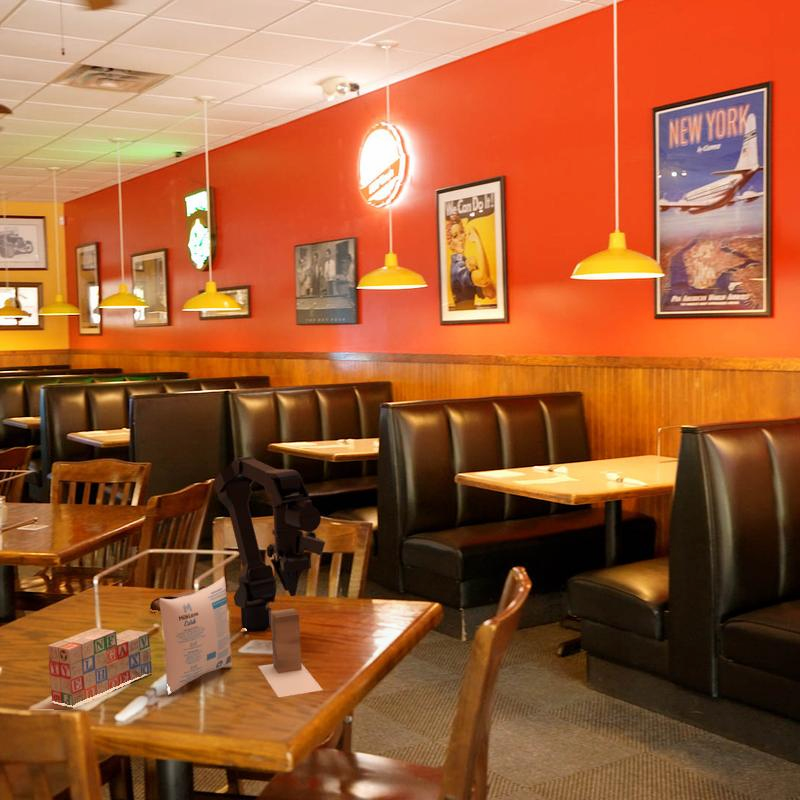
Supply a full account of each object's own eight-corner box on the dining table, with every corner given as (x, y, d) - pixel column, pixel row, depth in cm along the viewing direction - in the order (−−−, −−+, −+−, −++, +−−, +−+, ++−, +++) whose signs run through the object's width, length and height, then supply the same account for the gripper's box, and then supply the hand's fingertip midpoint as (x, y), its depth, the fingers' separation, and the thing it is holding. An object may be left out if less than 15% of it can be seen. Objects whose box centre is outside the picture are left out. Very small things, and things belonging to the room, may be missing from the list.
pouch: (246, 670, 214) (241, 578, 212) (177, 699, 198) (171, 600, 197) (219, 664, 218) (214, 574, 217) (151, 692, 203) (145, 595, 202)
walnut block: (273, 666, 215) (270, 611, 214) (296, 662, 216) (293, 608, 215) (278, 673, 210) (275, 617, 209) (301, 669, 211) (298, 614, 211)
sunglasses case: (169, 617, 256) (160, 593, 258) (156, 627, 261) (147, 603, 262) (224, 601, 270) (215, 578, 272) (210, 610, 274) (201, 588, 276)
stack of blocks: (131, 670, 217) (128, 615, 216) (152, 675, 214) (149, 618, 213) (51, 704, 199) (47, 644, 198) (72, 710, 196) (68, 648, 195)
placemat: (258, 667, 215) (258, 666, 215) (298, 661, 218) (298, 659, 218) (278, 699, 196) (278, 697, 196) (322, 691, 199) (322, 689, 199)
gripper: (331, 529, 222) (335, 598, 223) (310, 515, 240) (313, 579, 241) (282, 534, 218) (286, 605, 220) (264, 520, 236) (268, 585, 237)
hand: (290, 593), depth 229 cm, fingers open, 5 cm apart
